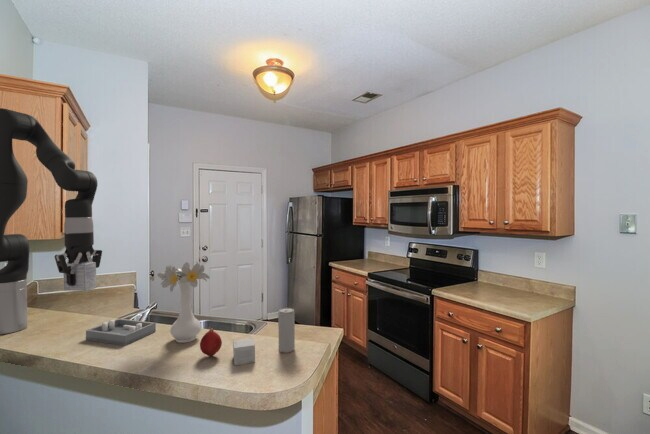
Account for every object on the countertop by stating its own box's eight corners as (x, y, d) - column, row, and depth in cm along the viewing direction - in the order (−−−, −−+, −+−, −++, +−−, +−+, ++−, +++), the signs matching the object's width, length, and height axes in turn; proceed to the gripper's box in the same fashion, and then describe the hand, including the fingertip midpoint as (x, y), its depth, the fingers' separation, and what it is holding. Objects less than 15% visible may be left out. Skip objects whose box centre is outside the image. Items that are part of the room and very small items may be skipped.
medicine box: (97, 288, 107) (96, 261, 106) (85, 291, 102) (85, 264, 102) (75, 287, 107) (75, 261, 107) (63, 291, 103) (62, 263, 103)
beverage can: (297, 347, 98) (297, 308, 98) (290, 354, 93) (290, 313, 93) (282, 345, 99) (282, 307, 99) (275, 352, 95) (275, 311, 95)
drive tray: (85, 339, 104) (85, 327, 104) (119, 326, 115) (119, 315, 115) (125, 345, 99) (125, 332, 99) (155, 331, 111) (155, 320, 111)
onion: (201, 362, 88) (201, 333, 88) (198, 354, 93) (198, 327, 93) (223, 358, 91) (223, 330, 91) (219, 350, 96) (219, 323, 96)
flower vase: (177, 328, 113) (176, 258, 113) (220, 336, 107) (219, 261, 106) (144, 342, 101) (144, 263, 101) (191, 352, 95) (190, 267, 94)
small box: (233, 356, 92) (233, 339, 92) (253, 354, 94) (253, 337, 94) (233, 366, 87) (233, 347, 86) (255, 363, 88) (255, 345, 88)
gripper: (92, 230, 112) (93, 278, 113) (46, 232, 99) (47, 288, 99) (108, 230, 110) (109, 279, 111) (64, 233, 97) (65, 289, 97)
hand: (80, 283), depth 105 cm, fingers closed on medicine box, 5 cm apart
